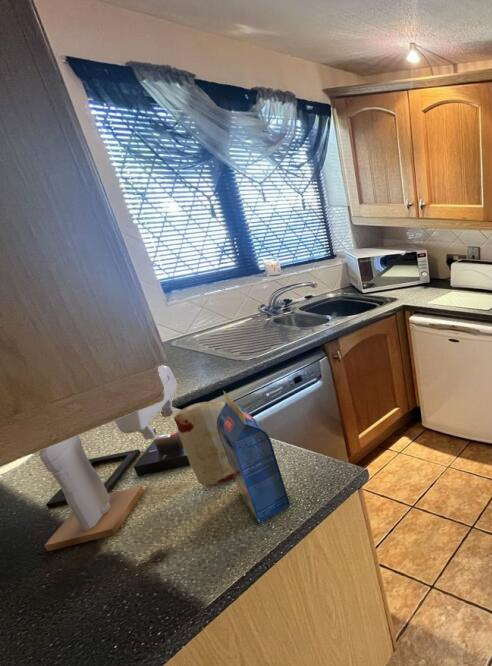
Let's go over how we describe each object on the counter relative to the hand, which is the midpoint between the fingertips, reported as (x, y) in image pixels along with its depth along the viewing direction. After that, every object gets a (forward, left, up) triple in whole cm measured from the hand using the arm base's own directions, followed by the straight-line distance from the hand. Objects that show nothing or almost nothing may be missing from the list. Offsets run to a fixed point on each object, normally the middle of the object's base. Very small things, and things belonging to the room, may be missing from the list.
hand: (160, 425), depth 92 cm
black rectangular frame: (-14, -2, -10) cm, 17 cm away
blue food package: (+24, -24, -10) cm, 36 cm away
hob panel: (0, 0, -10) cm, 10 cm away
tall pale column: (-7, -17, -8) cm, 20 cm away
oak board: (-7, -17, -10) cm, 21 cm away
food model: (+14, -13, -10) cm, 22 cm away
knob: (0, 0, -6) cm, 6 cm away
